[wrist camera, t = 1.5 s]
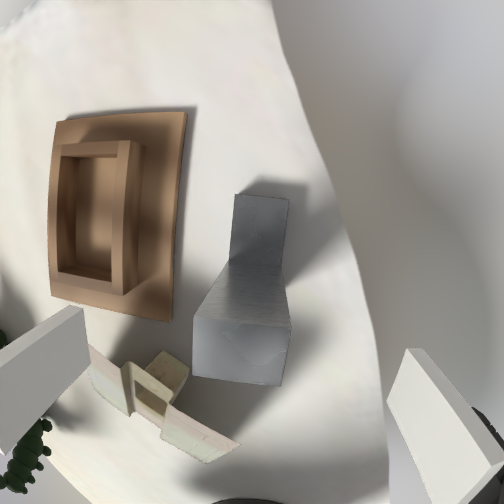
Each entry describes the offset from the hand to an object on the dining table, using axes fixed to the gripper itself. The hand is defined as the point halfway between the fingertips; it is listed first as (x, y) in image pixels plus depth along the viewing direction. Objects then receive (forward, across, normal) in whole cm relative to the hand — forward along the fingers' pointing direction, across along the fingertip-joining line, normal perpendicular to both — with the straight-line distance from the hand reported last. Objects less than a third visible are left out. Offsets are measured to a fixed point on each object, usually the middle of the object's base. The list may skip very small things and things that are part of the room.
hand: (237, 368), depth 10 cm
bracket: (+15, 0, -2) cm, 15 cm away
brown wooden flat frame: (+14, +14, -4) cm, 21 cm away
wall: (+15, +8, +14) cm, 22 cm away
